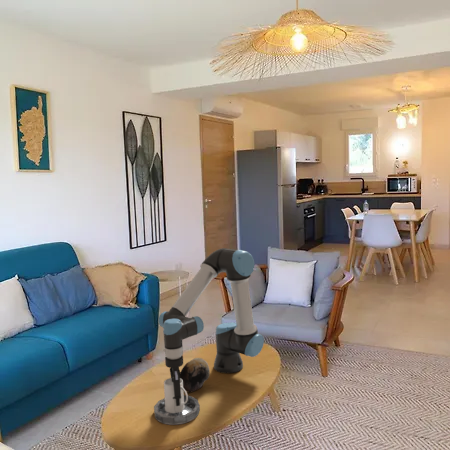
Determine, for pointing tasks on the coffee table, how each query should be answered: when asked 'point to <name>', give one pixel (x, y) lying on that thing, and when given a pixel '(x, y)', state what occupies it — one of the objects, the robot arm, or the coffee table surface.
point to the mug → (170, 394)
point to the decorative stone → (194, 374)
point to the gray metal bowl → (180, 417)
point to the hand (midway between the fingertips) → (176, 406)
